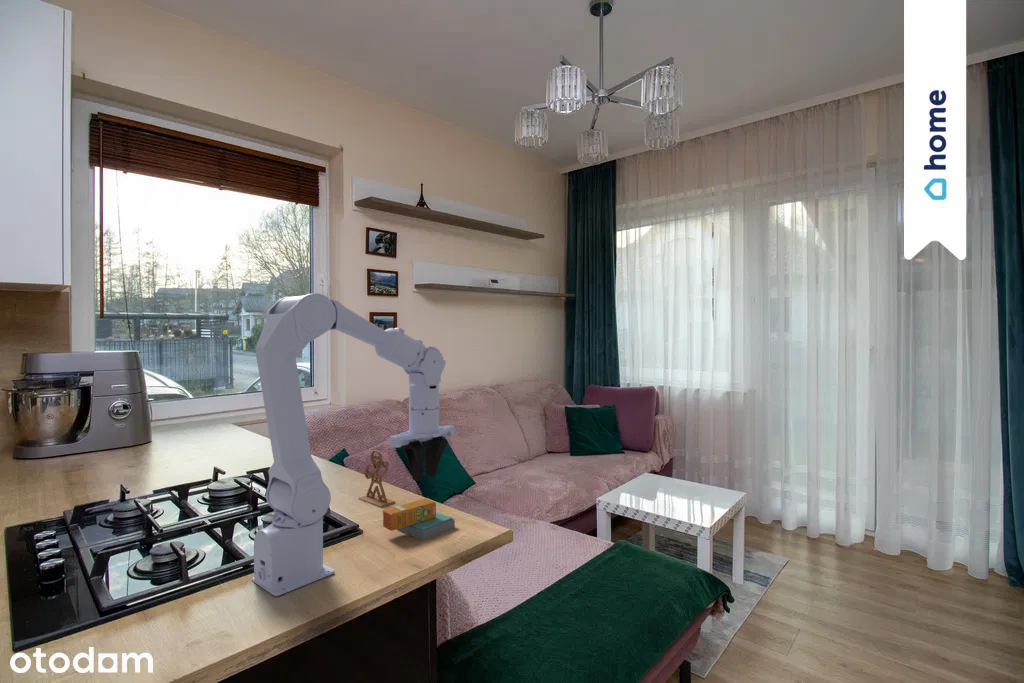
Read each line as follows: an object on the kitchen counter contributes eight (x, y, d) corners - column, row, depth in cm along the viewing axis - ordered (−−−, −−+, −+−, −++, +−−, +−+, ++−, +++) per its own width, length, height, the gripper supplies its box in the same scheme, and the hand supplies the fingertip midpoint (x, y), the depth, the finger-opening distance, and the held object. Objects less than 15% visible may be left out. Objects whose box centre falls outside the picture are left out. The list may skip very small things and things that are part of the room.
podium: (423, 540, 91) (423, 529, 91) (395, 530, 96) (395, 519, 96) (454, 527, 97) (454, 517, 97) (427, 518, 102) (427, 508, 102)
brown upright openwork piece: (357, 501, 113) (357, 449, 113) (372, 497, 116) (371, 446, 116) (381, 510, 107) (381, 454, 107) (396, 505, 110) (395, 451, 110)
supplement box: (391, 514, 90) (436, 500, 97) (381, 509, 93) (426, 496, 100) (392, 532, 90) (437, 517, 97) (382, 527, 93) (427, 513, 100)
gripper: (407, 414, 88) (407, 491, 88) (465, 405, 99) (465, 473, 100) (383, 411, 93) (383, 483, 93) (441, 403, 104) (441, 467, 104)
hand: (424, 478), depth 97 cm, fingers open, 3 cm apart
